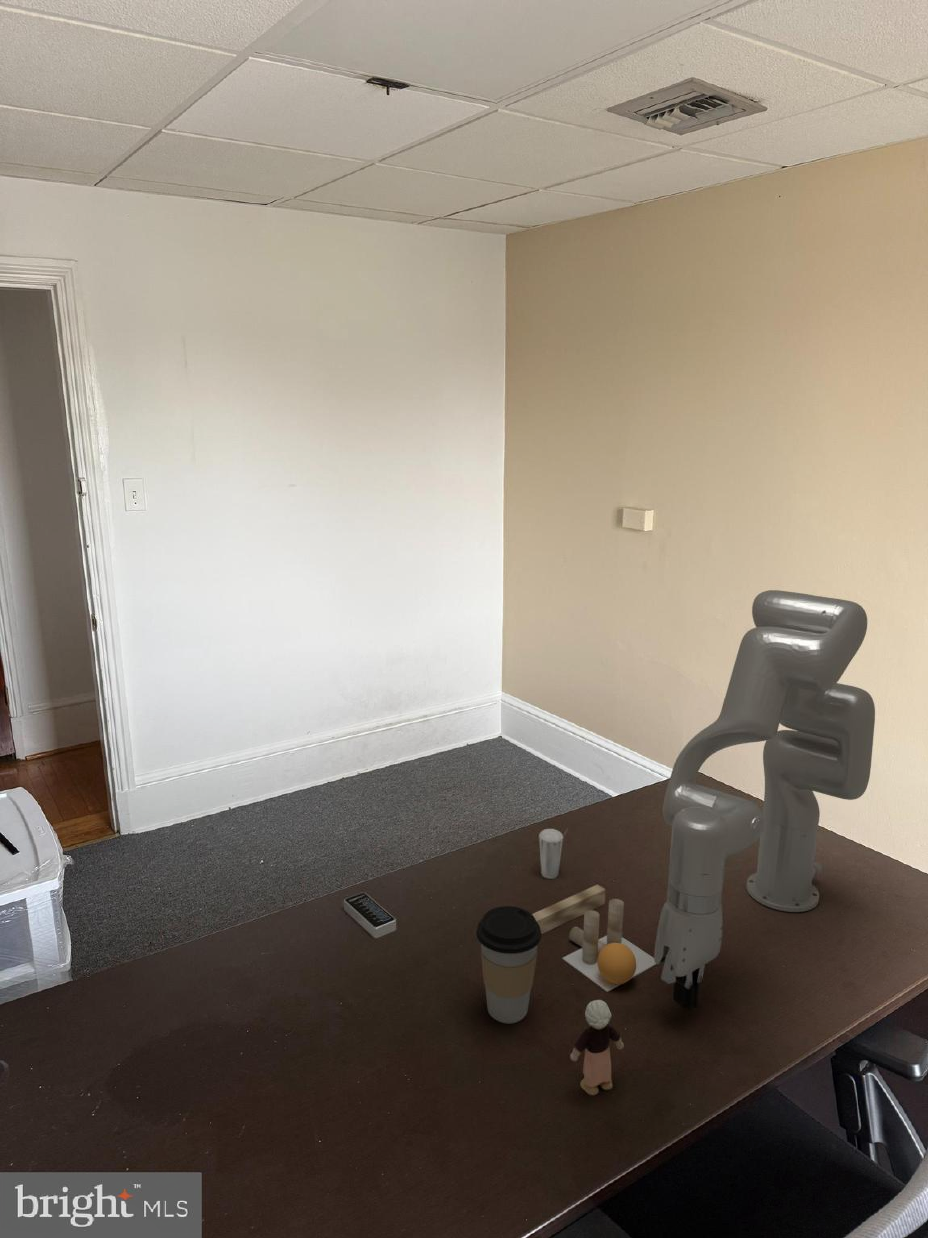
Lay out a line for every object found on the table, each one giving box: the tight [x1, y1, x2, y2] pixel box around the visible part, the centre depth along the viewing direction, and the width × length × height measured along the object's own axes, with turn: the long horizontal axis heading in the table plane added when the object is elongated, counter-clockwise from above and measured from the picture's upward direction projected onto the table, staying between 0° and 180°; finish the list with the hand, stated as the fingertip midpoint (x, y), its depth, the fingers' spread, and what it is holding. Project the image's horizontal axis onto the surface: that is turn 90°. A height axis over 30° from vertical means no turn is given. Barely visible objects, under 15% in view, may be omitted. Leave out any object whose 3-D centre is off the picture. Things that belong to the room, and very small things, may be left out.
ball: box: [597, 943, 636, 985], centre depth 134 cm, size 6×6×6 cm
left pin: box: [582, 910, 600, 965], centre depth 138 cm, size 2×2×8 cm
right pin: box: [606, 898, 625, 945], centre depth 141 cm, size 2×2×8 cm
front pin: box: [568, 926, 606, 957], centre depth 141 cm, size 2×2×8 cm
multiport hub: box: [343, 891, 397, 939], centre depth 150 cm, size 4×11×2 cm, turn 37°
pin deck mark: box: [562, 935, 657, 993], centre depth 139 cm, size 12×10×1 cm
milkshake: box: [538, 828, 568, 880], centre depth 163 cm, size 4×5×10 cm
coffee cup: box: [475, 905, 542, 1025], centre depth 126 cm, size 9×9×15 cm
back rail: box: [531, 884, 606, 935], centre depth 149 cm, size 22×2×3 cm, turn 127°
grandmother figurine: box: [569, 999, 625, 1096], centre depth 112 cm, size 8×4×13 cm, turn 123°
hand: (685, 1003), depth 127 cm, fingers closed
